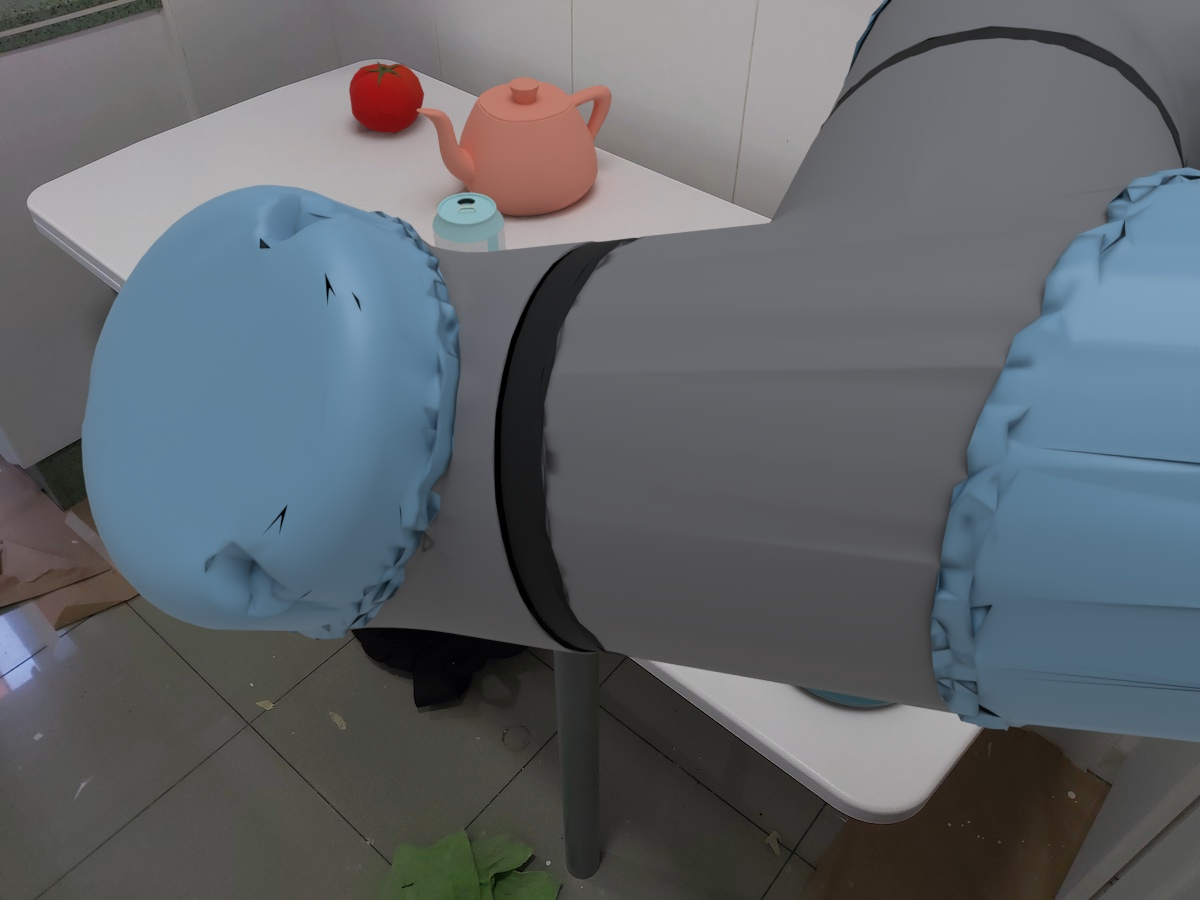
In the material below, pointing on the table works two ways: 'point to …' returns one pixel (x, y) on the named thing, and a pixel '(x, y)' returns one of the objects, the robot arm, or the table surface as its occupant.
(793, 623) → the robot arm
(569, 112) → the teapot
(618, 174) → the table surface
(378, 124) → the tomato
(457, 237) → the can
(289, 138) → the table surface
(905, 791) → the table surface
